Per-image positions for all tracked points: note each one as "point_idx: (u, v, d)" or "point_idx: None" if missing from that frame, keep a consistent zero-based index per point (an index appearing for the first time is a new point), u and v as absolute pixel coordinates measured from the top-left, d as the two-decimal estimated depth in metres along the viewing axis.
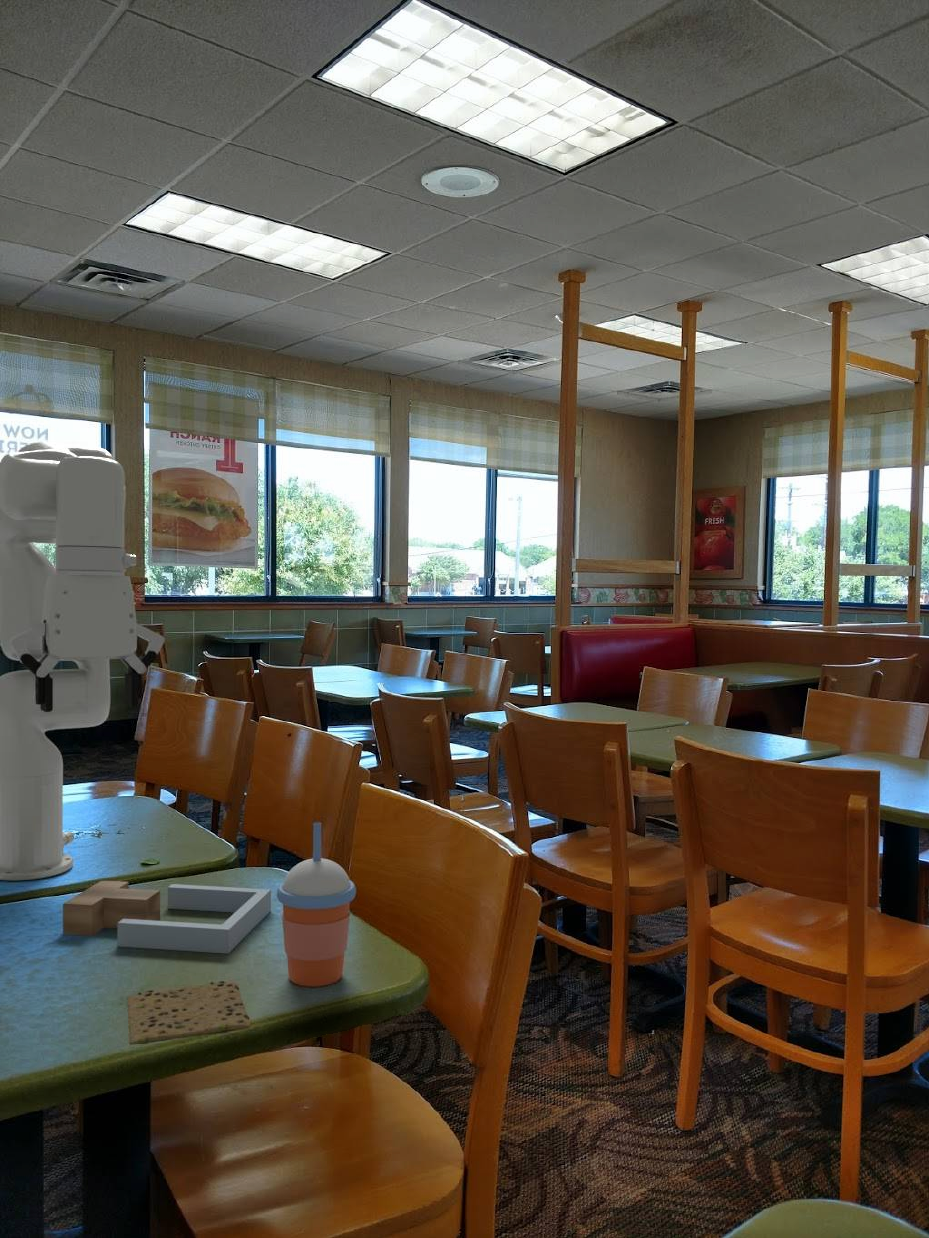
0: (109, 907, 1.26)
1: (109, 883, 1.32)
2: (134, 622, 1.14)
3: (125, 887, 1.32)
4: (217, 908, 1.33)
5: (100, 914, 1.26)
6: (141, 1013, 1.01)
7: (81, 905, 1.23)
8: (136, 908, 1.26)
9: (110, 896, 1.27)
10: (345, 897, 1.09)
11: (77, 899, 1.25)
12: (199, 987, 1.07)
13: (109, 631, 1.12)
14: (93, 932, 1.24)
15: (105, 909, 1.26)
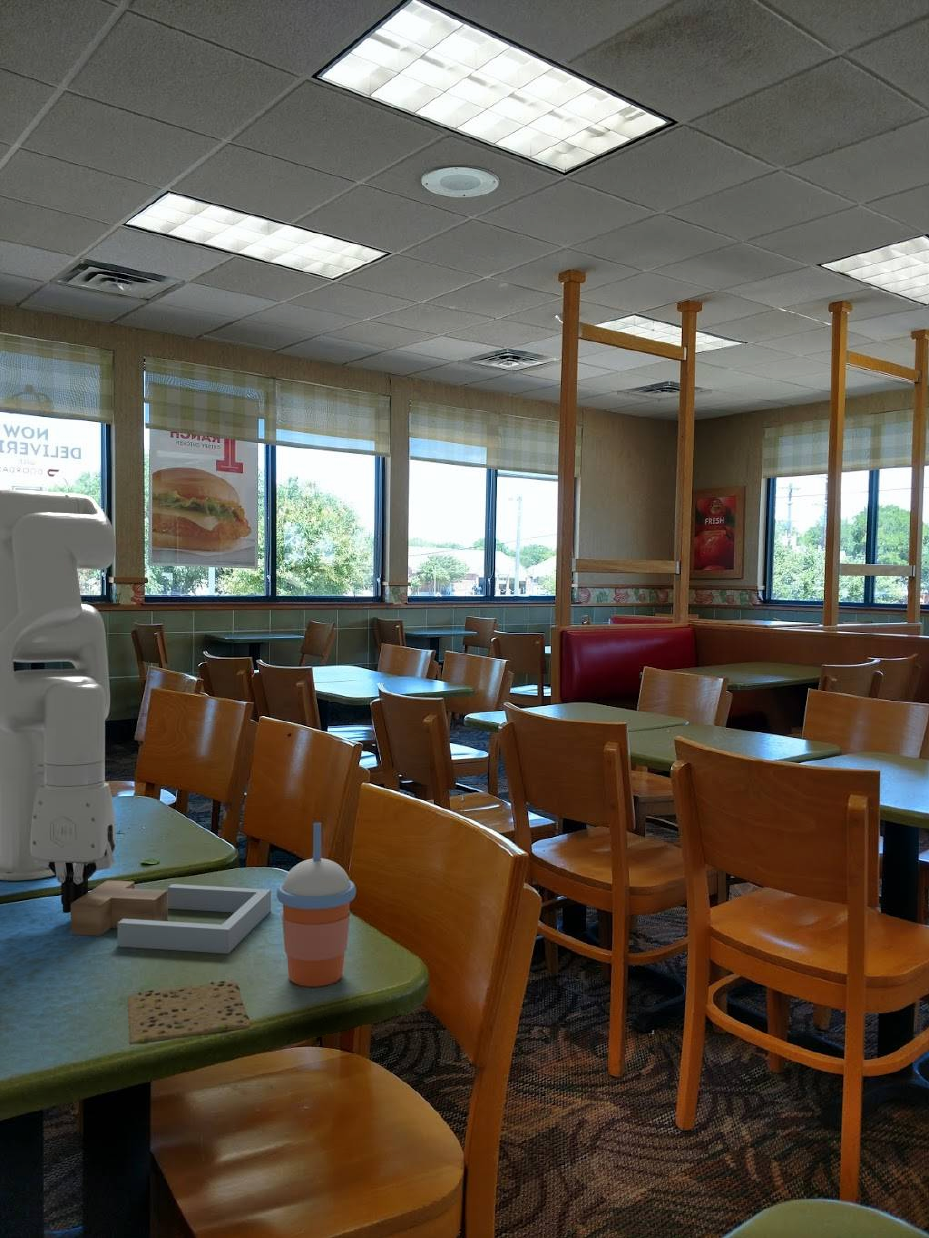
0: (117, 907, 1.26)
1: (115, 883, 1.32)
2: None
3: (131, 887, 1.32)
4: (217, 908, 1.33)
5: (108, 914, 1.26)
6: (141, 1013, 1.01)
7: (90, 905, 1.23)
8: (144, 908, 1.26)
9: (118, 896, 1.27)
10: (345, 897, 1.09)
11: (85, 899, 1.25)
12: (199, 987, 1.07)
13: None
14: (101, 932, 1.24)
15: (113, 909, 1.26)
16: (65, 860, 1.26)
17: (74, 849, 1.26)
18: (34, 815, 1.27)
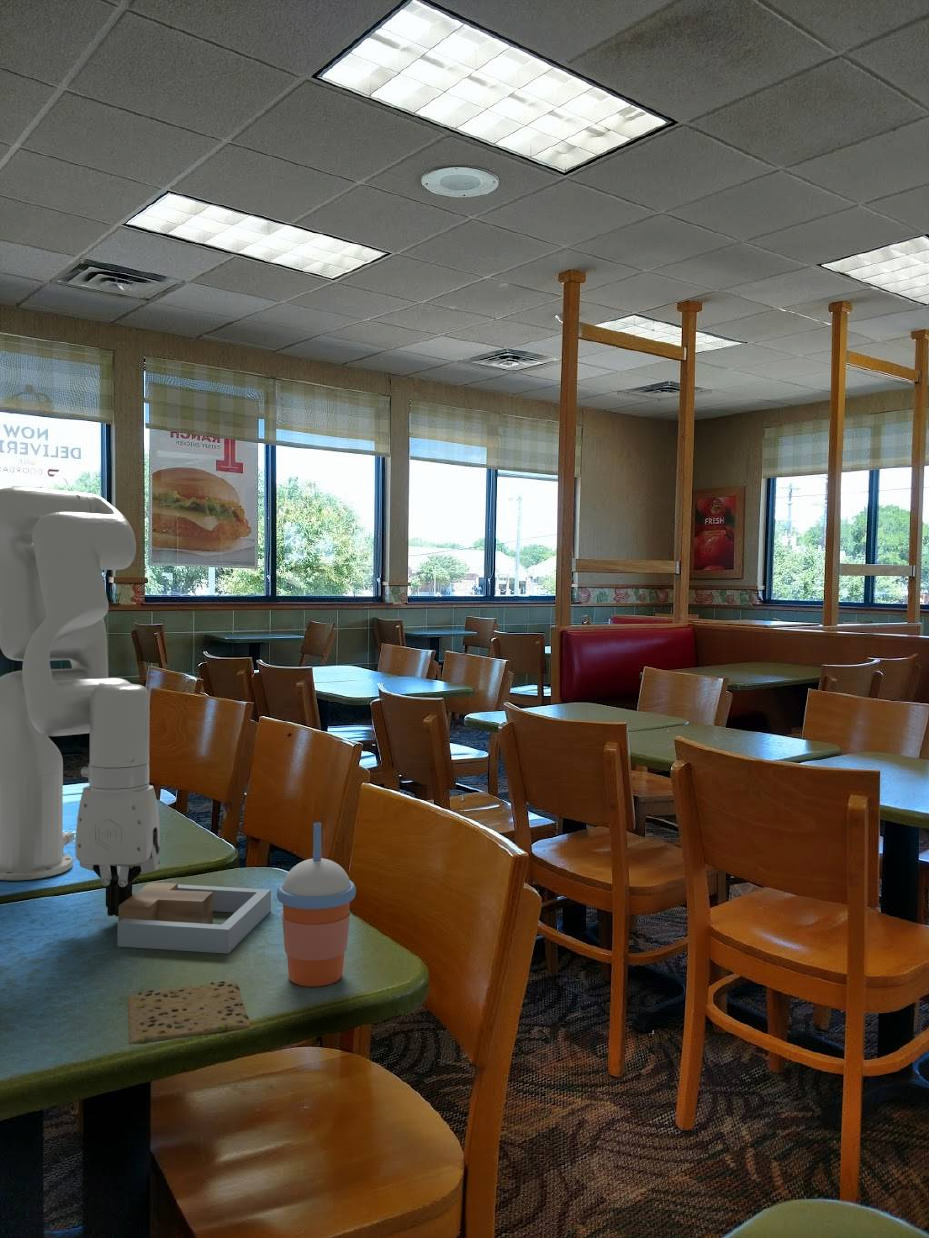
0: (164, 909, 1.26)
1: (159, 885, 1.32)
2: None
3: (175, 889, 1.32)
4: (217, 908, 1.33)
5: (155, 916, 1.25)
6: (141, 1013, 1.01)
7: (138, 908, 1.23)
8: (191, 910, 1.25)
9: (164, 898, 1.26)
10: (345, 897, 1.09)
11: (132, 901, 1.25)
12: (199, 987, 1.07)
13: None
14: None
15: (159, 911, 1.26)
16: (110, 863, 1.25)
17: (120, 852, 1.25)
18: (79, 817, 1.26)
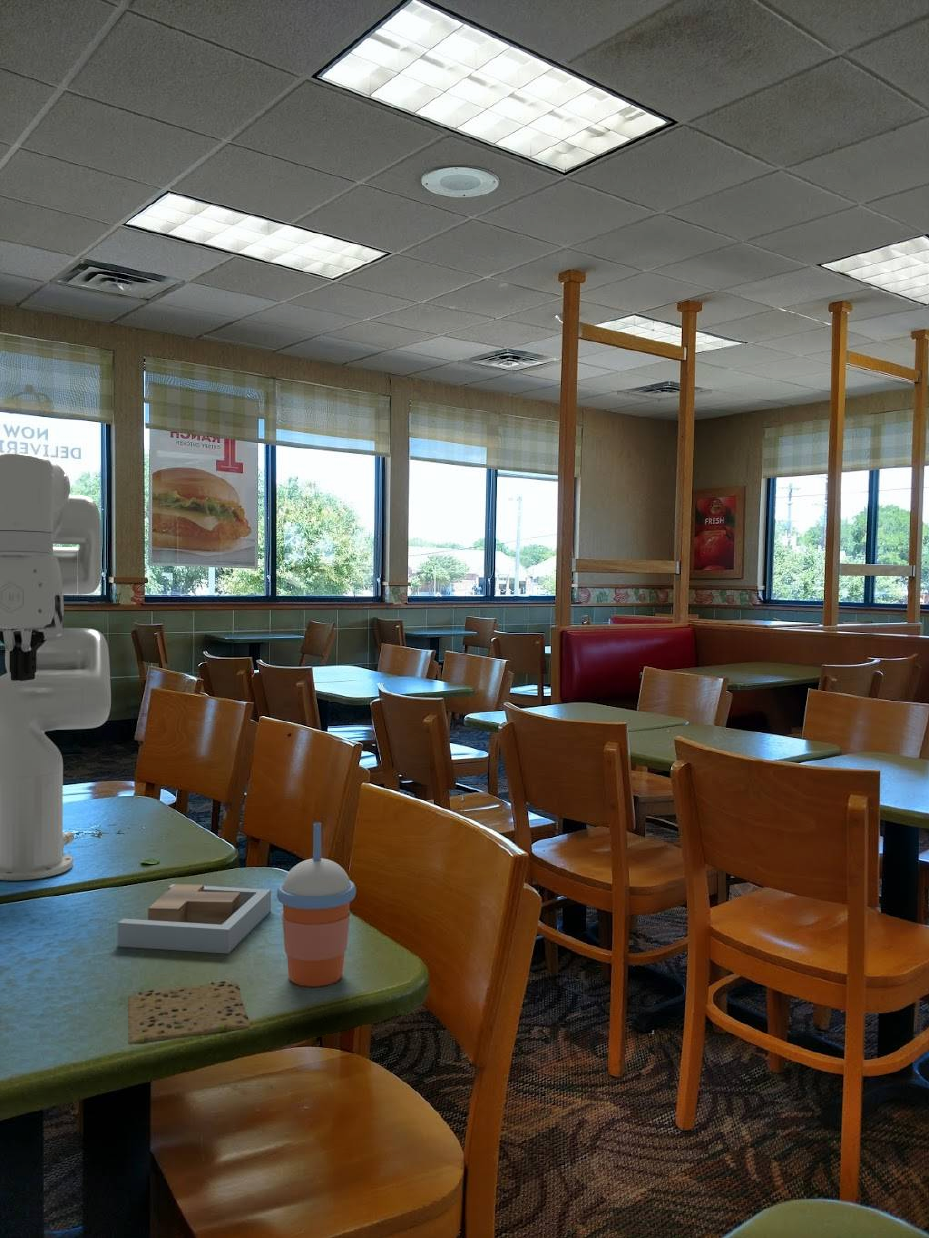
0: (192, 910, 1.25)
1: (185, 887, 1.31)
2: None
3: (201, 890, 1.31)
4: None
5: (184, 918, 1.25)
6: (141, 1013, 1.01)
7: (167, 909, 1.22)
8: (220, 911, 1.25)
9: (193, 899, 1.26)
10: (345, 897, 1.09)
11: (160, 903, 1.24)
12: (199, 987, 1.07)
13: None
14: None
15: (188, 912, 1.25)
16: (13, 626, 1.28)
17: (21, 614, 1.28)
18: None
